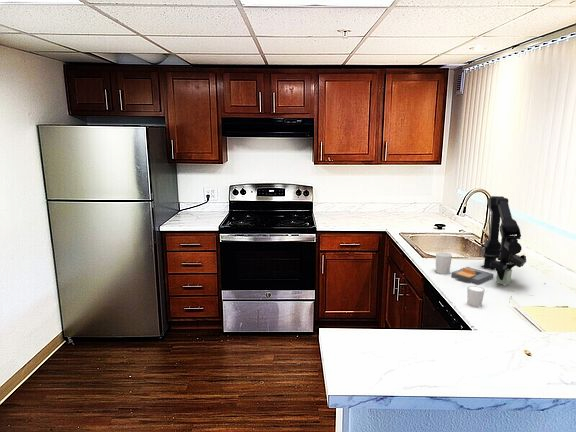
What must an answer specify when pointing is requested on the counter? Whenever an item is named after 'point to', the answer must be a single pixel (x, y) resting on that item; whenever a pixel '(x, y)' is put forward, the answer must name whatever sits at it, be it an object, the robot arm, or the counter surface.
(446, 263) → the white cup
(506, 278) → the plug
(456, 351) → the counter surface
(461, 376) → the counter surface
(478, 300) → the shot glass
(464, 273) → the shutter
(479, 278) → the socket
